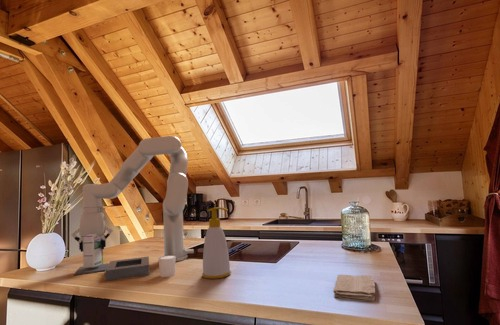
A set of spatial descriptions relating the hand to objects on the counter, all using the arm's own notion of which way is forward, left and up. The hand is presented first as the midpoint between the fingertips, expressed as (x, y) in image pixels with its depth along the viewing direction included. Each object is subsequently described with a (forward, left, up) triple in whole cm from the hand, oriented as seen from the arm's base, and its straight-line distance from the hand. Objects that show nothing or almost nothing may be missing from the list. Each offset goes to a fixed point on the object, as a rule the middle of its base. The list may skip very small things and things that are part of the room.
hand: (92, 249), depth 130 cm
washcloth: (-85, +73, -10) cm, 112 cm away
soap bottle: (-49, +36, -9) cm, 61 cm away
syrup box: (0, 0, -7) cm, 7 cm away
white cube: (-31, +26, -9) cm, 41 cm away
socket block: (-16, +14, -9) cm, 23 cm away
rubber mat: (0, 0, -9) cm, 9 cm away
